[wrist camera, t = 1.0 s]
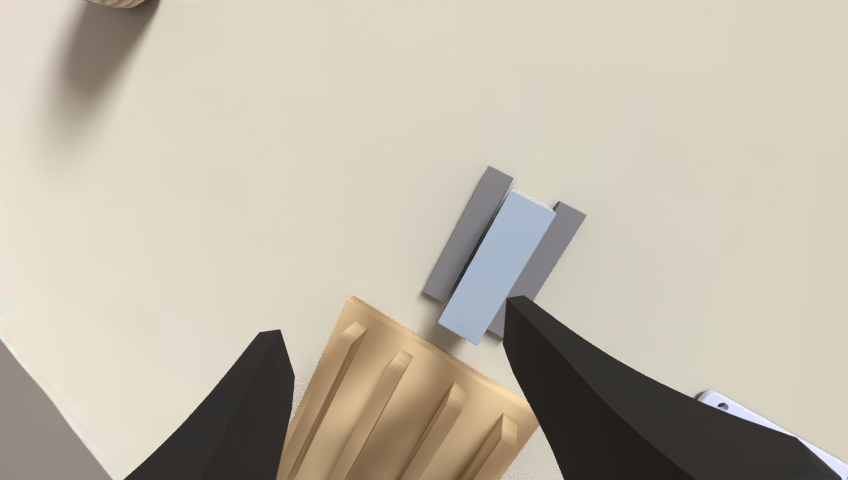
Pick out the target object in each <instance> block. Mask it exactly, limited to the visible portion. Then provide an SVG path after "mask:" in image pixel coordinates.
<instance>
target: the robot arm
mask: <svg viewBox="0 0 848 480" xmlns="http://www.w3.org/2000/svg"><path fill="white" fill-rule="evenodd" d="M503 346H504V349H505V352H506V355H507V358H508V360H509V363H510V366H511V368H512V371H513V373H514V375H515V377H516V379H517V381H518V383H519V385H520V387H521V389H522V391H523V393H524V395H525V397H526V399H527V401H528V403H529V405H530V407H531V409H532V410H533V412H534V414H535V416H536V418H537V420H538V422H539V424H540V426H541V428H542V430H543V432H544V434H545V436H546V438H547V440H548V442H549V444H550V446H551V448H552V451H553V453H554V456H555V458H556V461H557V463H558V465H559V468H560V470H561V473H562V475H563V478H564V480H848V478H847V477H848V465H847V464H846V463H844V462H842V461H840V460H838V459H837V458H835V457H833V456H831V455H829V454H828V453H826V452H824V451H822V450H820V449H819V448H817V447H815V446H813V445H811V444H810V443H808V442H806V441H804V440H802V439H801V438H799V437H797V436H795V435H793V434H792V433H790V432H788V431H786V430H784V429H783V428H781V427H779V426H777V425H775V424H774V423H772V422H770V421H768V420H766V419H764V418H763V417H761V416H759V415H757V414H755V413H754V412H752V411H750V410H748V409H746V408H745V407H743V406H741V405H739V404H737V403H736V402H734V401H732V400H730V399H728V398H727V397H725V396H723V395H721V394H719V393H718V392H715V391H706V392H704V393H703V394H702V395H701V396H700V398H699V399H698V400H696V399H694V398H691V397H689V396H687V395H684V394H682V393H680V392H678V391H676V390H674V389H672V388H670V387H668V386H665V385H663V384H661V383H659V382H657V381H655V380H653V379H651V378H649V377H647V376H645V375H643V374H642V373H640V372H638V371H636V370H634V369H633V368H631V367H629V366H627V365H625V364H623V363H622V362H620V361H618V360H617V359H615V358H613V357H611V356H610V355H608V354H607V353H605V352H603V351H602V350H600V349H599V348H597V347H596V346H594V345H592V344H591V343H589V342H588V341H586V340H585V339H583V338H582V337H580V336H579V335H578V334H576V333H575V332H573V331H572V330H570V329H569V328H568V327H566V326H565V325H563V324H562V323H561V322H559V321H558V320H557V319H555V318H554V317H553V316H551V315H550V314H549V313H547V312H546V311H545V310H543V309H542V308H541V307H539V306H538V305H537V304H535V303H534V302H533V301H531V300H530V299H529V298H527V297H526V296H524V295H522V296H515V297H508V298H506V309H505V322H504V335H503ZM294 380H295V376H294V372H293V369H292V366H291V363H290V359H289V356H288V353H287V350H286V346H285V343H284V340H283V337H282V333H281V330H273V331H265V332H259V334H258V335H257V336H256V337H255V338H254V340H253V341H252V342H251V343H250V345H249V346H248V347H247V348H246V350H245V351H244V352H243V353H242V355H241V356H240V357H239V359H238V360H237V361H236V362H235V364H234V365H233V366H232V367H231V369H230V370H229V371H228V372H227V373H226V375H225V376H224V377H223V378H222V379H221V381H220V382H219V383H218V384H217V385H216V387H215V388H214V389H213V390H212V391H211V393H210V394H209V395H208V396H207V397H206V398H205V399H204V401H203V402H202V403H201V404H200V405H199V406H198V407H197V408H196V409H195V411H194V412H193V413H192V414H191V415H190V416H189V417H188V418H187V419H186V421H185V422H184V423H183V424H182V425H181V426H180V427H179V428H178V429H177V430H176V431H175V432H174V433H173V434H172V435H171V436H170V437H169V438H168V439H167V440H166V441H165V442H164V443H163V444H162V445H161V446H160V447H159V448H158V449H157V450H156V451H155V452H154V453H153V454H152V455H150V456H149V457H148V458H147V459H146V460H145V461H144V462H143V463H142V464H141V465H140V466H139V467H137V468H136V469H135V470H134V471H133V472H132V473H131V474H129V475H128V476H127V477H126V478H125V479H124V480H276V477H277V473H278V469H279V464H280V460H281V455H282V451H283V446H284V442H285V438H286V433H287V428H288V424H289V419H290V415H291V410H292V401H293V392H294ZM720 403H725V404H724V406H722V407H717V406H718V404H720Z"/></svg>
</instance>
